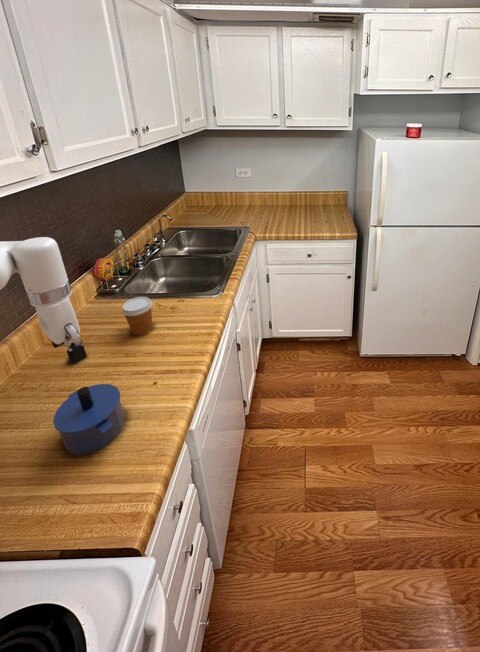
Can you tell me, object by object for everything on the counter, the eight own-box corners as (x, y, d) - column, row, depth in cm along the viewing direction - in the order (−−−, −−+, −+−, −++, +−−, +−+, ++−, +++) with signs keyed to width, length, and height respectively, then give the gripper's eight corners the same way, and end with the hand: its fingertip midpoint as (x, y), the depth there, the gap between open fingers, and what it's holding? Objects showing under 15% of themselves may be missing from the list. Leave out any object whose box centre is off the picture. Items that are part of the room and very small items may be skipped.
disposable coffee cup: (122, 335, 118) (114, 307, 113) (145, 320, 126) (139, 293, 121) (140, 343, 114) (133, 314, 109) (163, 327, 122) (157, 300, 117)
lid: (69, 447, 72) (61, 427, 70) (44, 415, 79) (37, 396, 77) (131, 403, 82) (126, 384, 80) (104, 378, 89) (99, 361, 87)
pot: (85, 475, 74) (76, 449, 71) (52, 432, 83) (43, 407, 80) (140, 431, 84) (134, 407, 81) (105, 398, 93) (98, 374, 90)
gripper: (15, 287, 76) (37, 347, 82) (45, 313, 67) (67, 378, 73) (53, 274, 81) (72, 330, 88) (86, 296, 72) (103, 358, 79)
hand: (70, 352), depth 80 cm, fingers open, 9 cm apart
